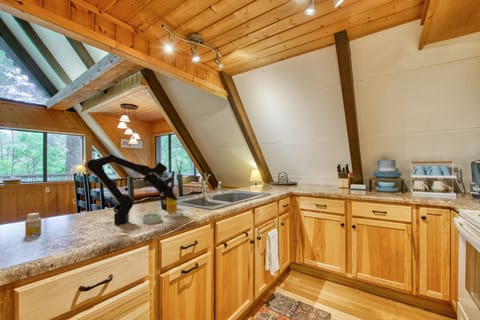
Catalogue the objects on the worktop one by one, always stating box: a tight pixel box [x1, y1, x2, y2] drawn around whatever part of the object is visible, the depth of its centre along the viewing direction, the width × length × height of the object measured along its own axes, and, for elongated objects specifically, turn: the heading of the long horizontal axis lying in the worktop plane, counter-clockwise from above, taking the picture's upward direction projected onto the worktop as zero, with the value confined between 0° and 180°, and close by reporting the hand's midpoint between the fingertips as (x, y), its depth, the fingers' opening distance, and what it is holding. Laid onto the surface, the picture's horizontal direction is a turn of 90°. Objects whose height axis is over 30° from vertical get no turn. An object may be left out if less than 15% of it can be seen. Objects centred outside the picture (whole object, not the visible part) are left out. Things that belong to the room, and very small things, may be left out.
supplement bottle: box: [24, 212, 42, 237], centre depth 102 cm, size 5×5×10 cm
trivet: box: [161, 209, 183, 218], centre depth 136 cm, size 12×12×2 cm
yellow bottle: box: [166, 187, 178, 213], centre depth 136 cm, size 6×6×15 cm
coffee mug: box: [159, 194, 167, 211], centre depth 156 cm, size 12×9×10 cm
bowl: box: [141, 212, 162, 225], centre depth 121 cm, size 9×9×4 cm
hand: (174, 198), depth 137 cm, fingers open, 9 cm apart
